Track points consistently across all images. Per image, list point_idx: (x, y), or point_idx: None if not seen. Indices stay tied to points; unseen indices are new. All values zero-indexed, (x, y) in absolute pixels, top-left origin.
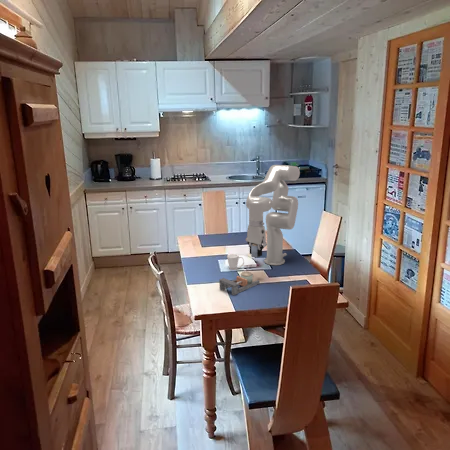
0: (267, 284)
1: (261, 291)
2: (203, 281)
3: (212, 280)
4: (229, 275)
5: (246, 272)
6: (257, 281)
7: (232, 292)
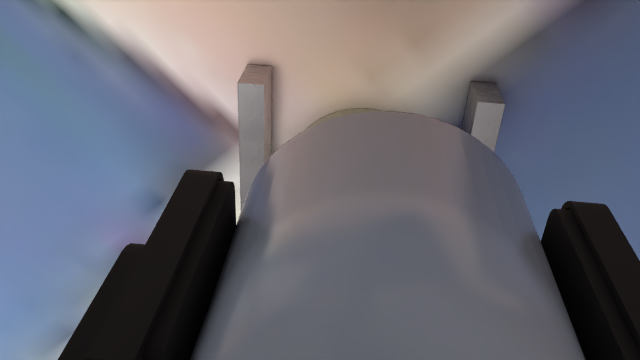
0: (608, 29)
1: (627, 229)
2: (9, 354)
3: (37, 303)
4: (25, 114)
5: None
6: (496, 140)
7: None
